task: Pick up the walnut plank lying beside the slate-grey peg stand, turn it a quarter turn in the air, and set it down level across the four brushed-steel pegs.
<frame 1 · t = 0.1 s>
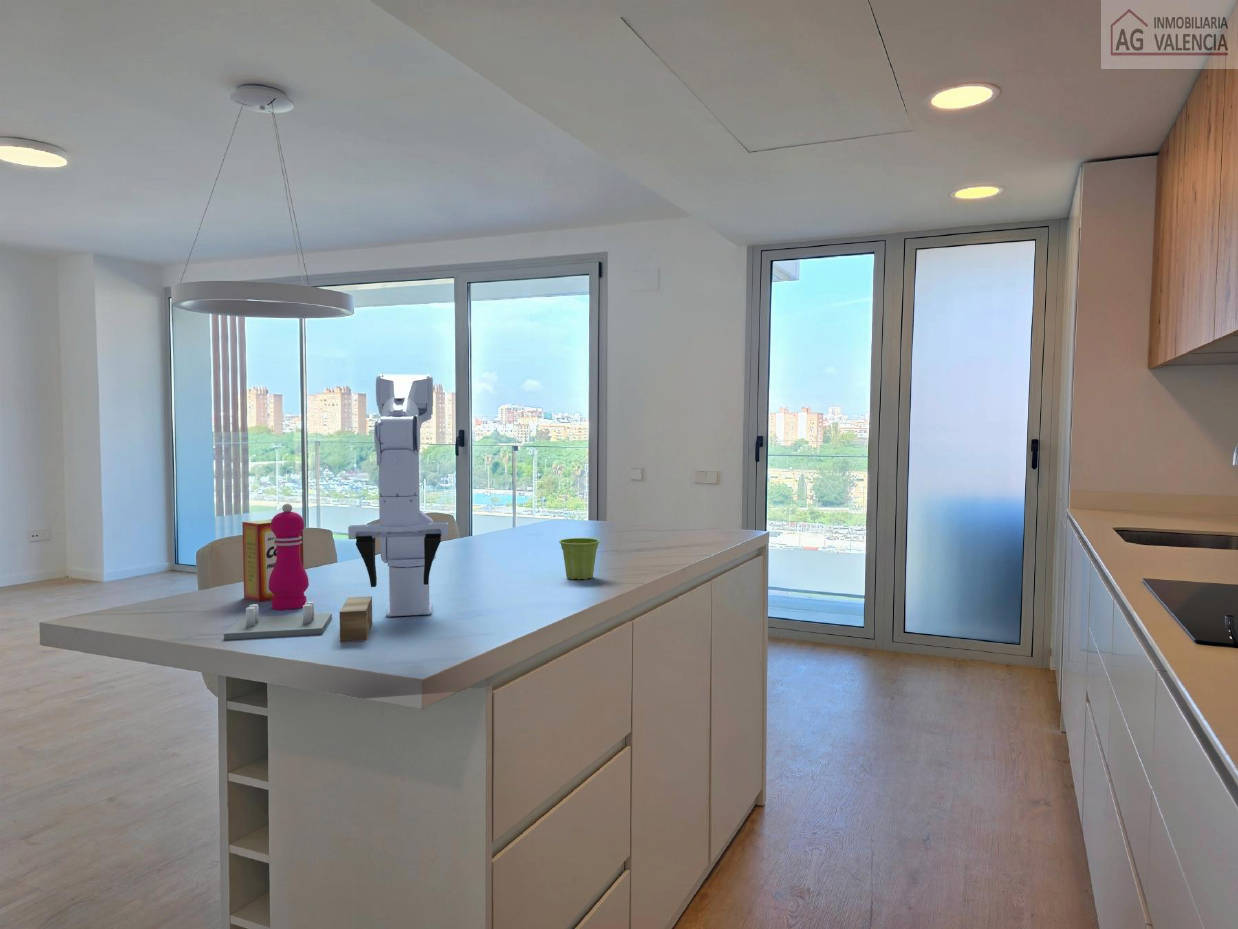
hand: (400, 584, 121), 10 cm above the table, tool pointing down, fingers open, 7 cm apart
food box: (274, 597, 165), on the table
walnut plank: (357, 633, 133), on the table
pepper mill: (289, 607, 154), on the table
peg stand: (280, 628, 136), on the table
plant pot: (579, 578, 184), on the table
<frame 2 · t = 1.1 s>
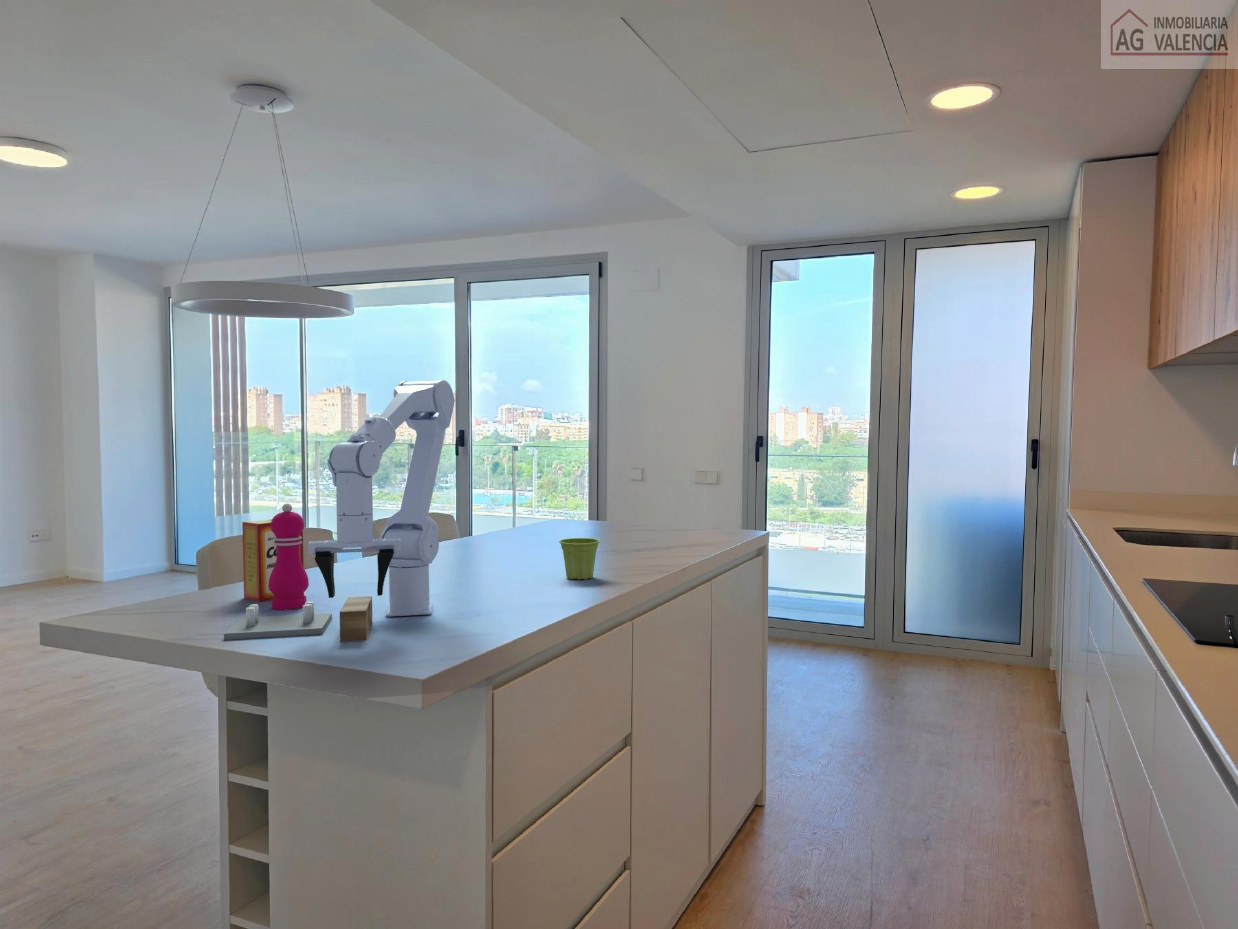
hand: (356, 595, 132), 6 cm above the table, tool pointing down, fingers open, 7 cm apart
nothing on the table moved.
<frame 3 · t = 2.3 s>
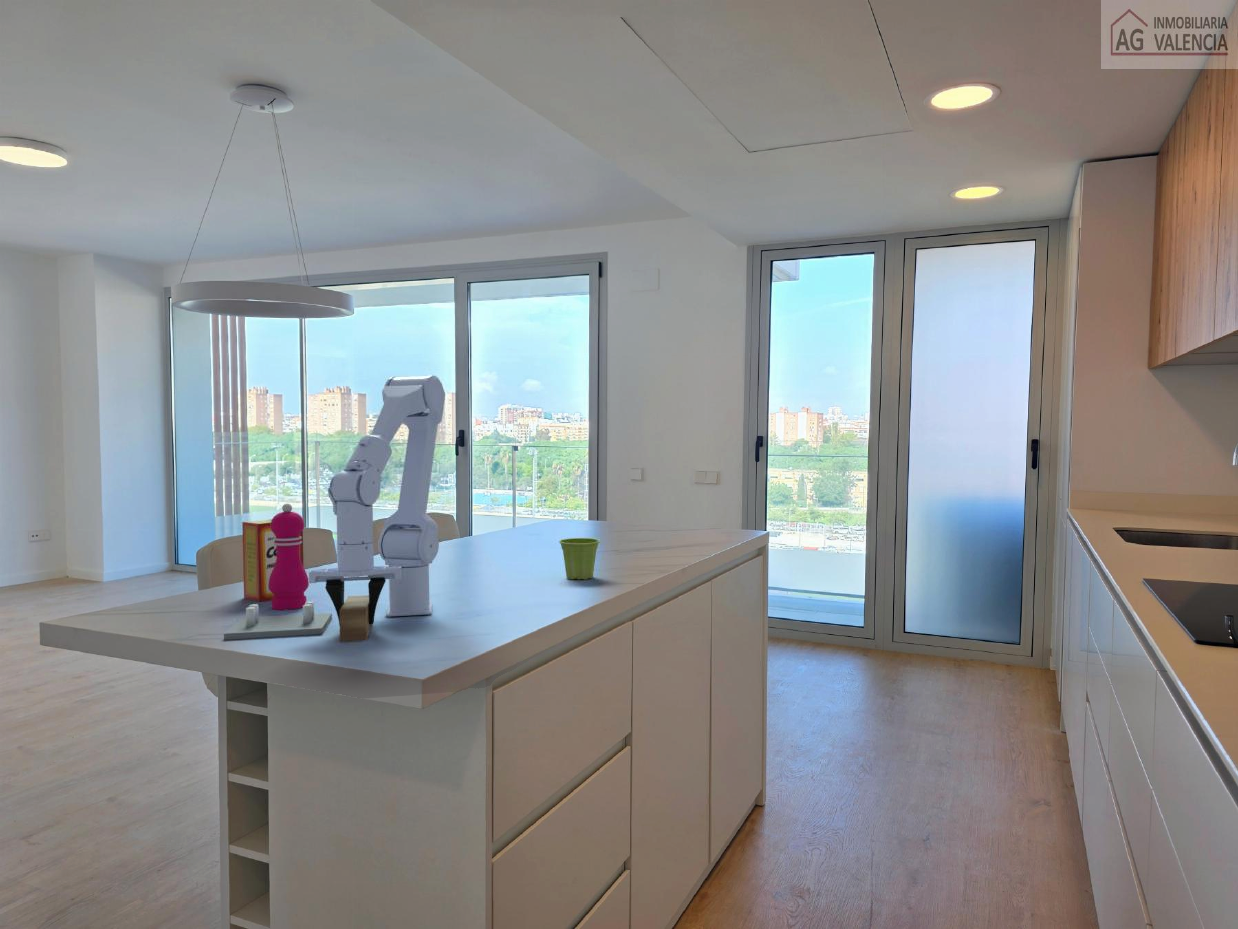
hand: (356, 623, 133), 1 cm above the table, tool pointing down, fingers closed on walnut plank, 4 cm apart
walnut plank: (357, 632, 133), on the table, touching gripper
everything else where it was.
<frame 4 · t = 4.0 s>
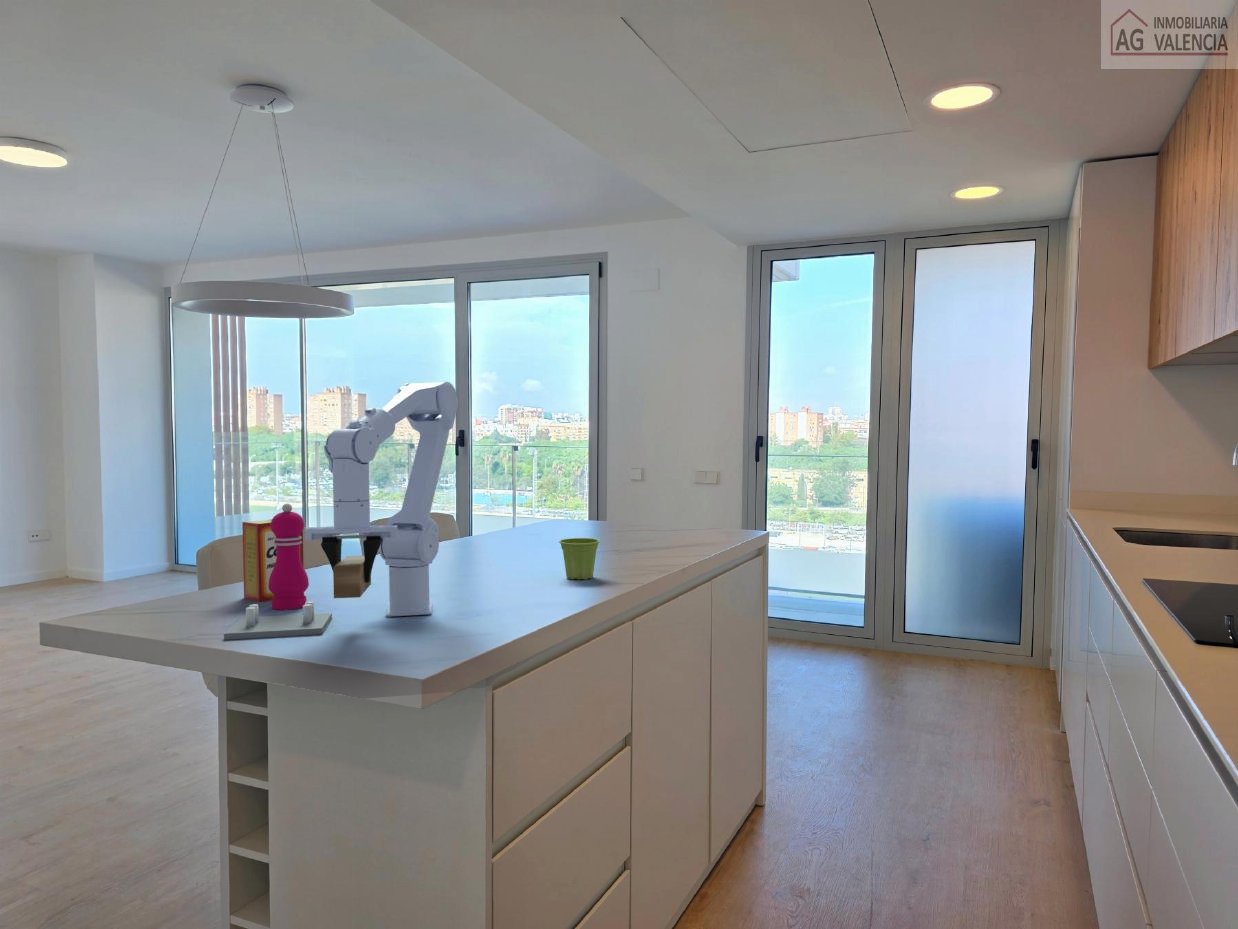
hand: (353, 582, 133), 8 cm above the table, tool pointing down, fingers closed on walnut plank, 4 cm apart
walnut plank: (353, 590, 133), point 7 cm above the table, touching gripper
everything else where it was.
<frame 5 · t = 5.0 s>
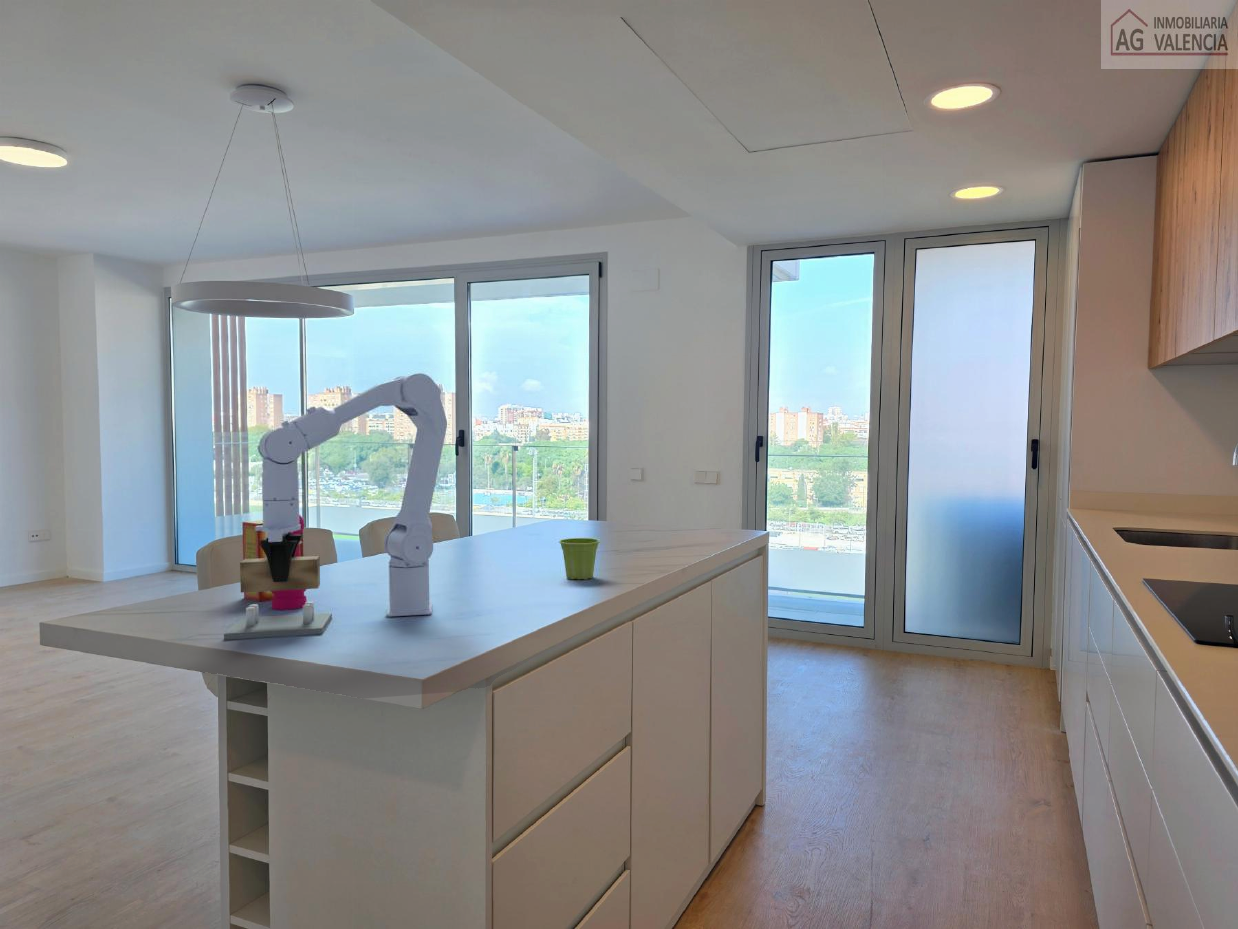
hand: (282, 579, 135), 8 cm above the table, tool pointing down, fingers closed on walnut plank, 4 cm apart
walnut plank: (281, 588, 135), point 7 cm above the table, touching gripper
everything else where it was.
when the fingers open (6 cm above the table, at t = 5.9 s): walnut plank stays where it is, resting on peg stand.
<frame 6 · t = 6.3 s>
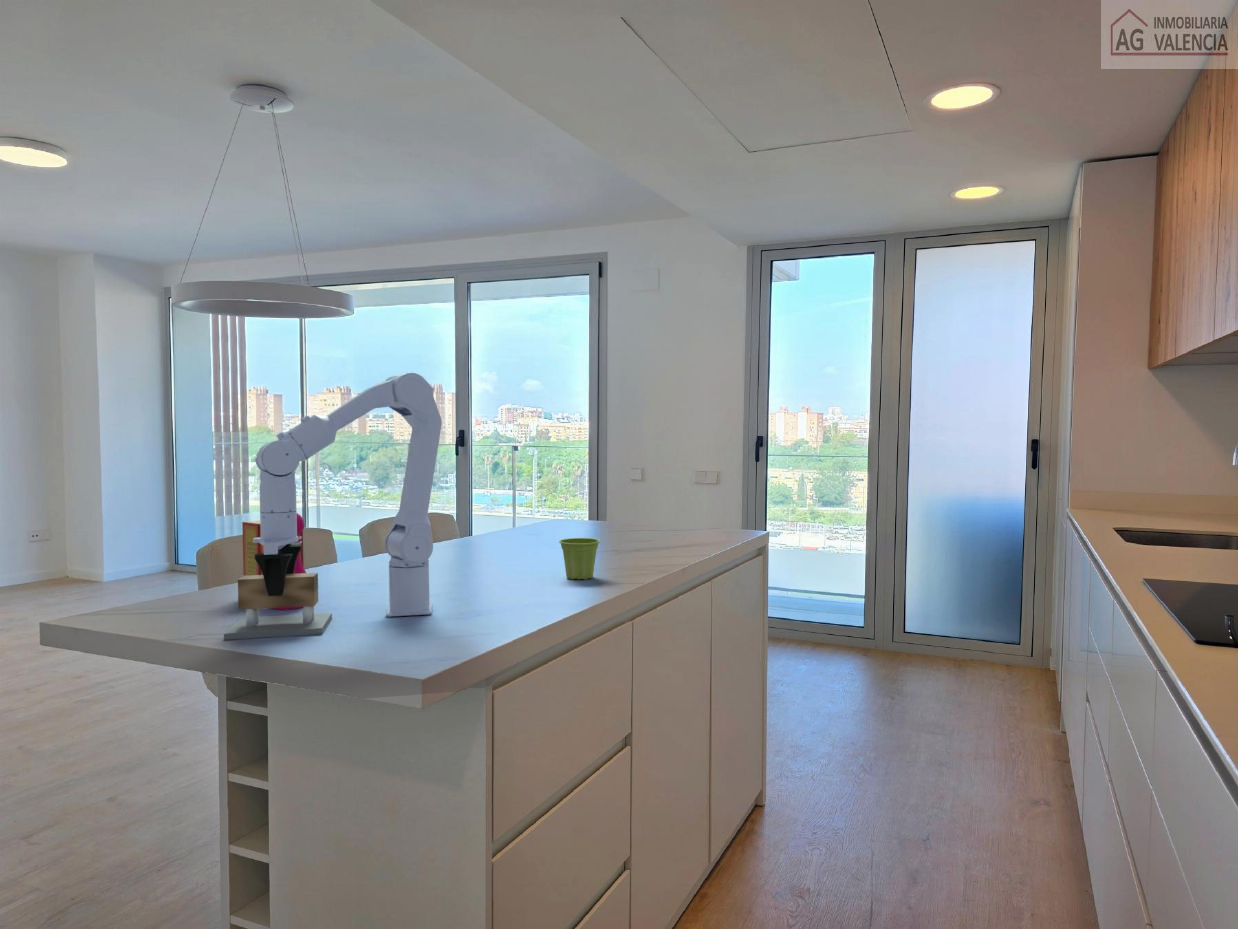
hand: (280, 591, 136), 6 cm above the table, tool pointing down, fingers open, 7 cm apart
walnut plank: (279, 605, 136), point 4 cm above the table, touching peg stand
everything else where it was.
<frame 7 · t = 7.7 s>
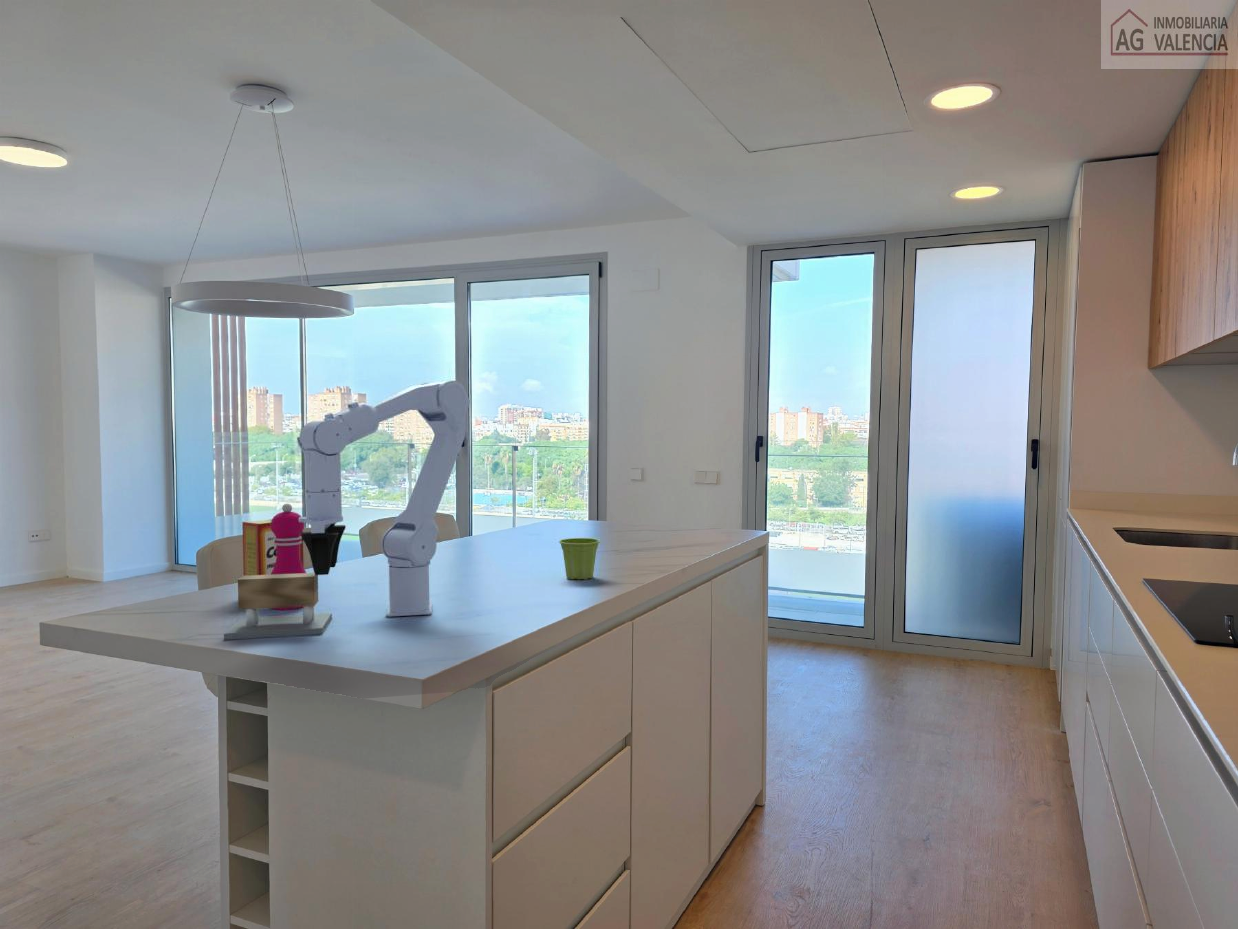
hand: (325, 570, 136), 10 cm above the table, tool pointing down, fingers open, 7 cm apart
nothing on the table moved.
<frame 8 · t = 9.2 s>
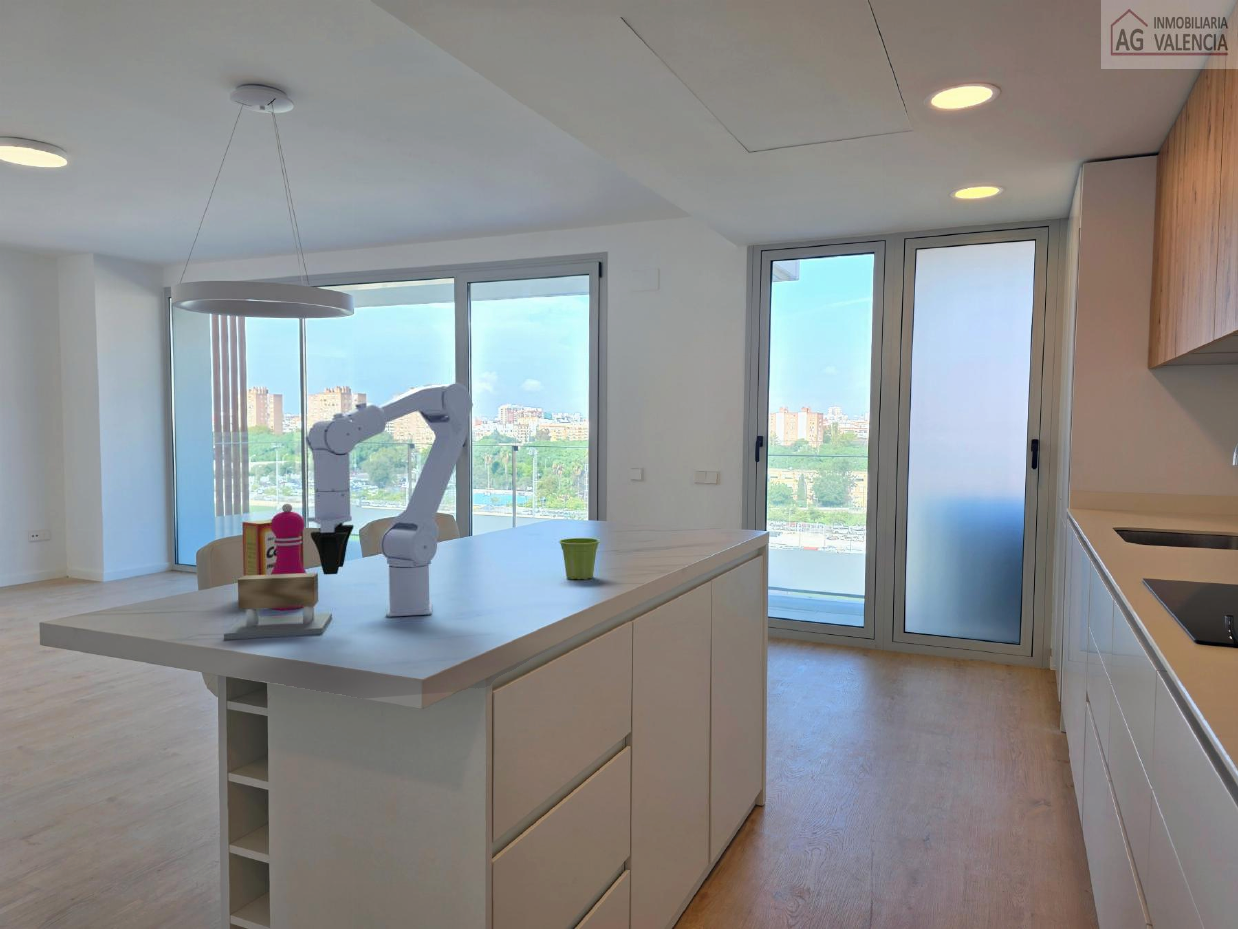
hand: (333, 570, 135), 10 cm above the table, tool pointing down, fingers open, 7 cm apart
nothing on the table moved.
at the end: walnut plank 0.2 cm off-centre on the peg stand, point 4.0 cm above the peg stand's base; walnut plank tilted 0°; the gripper is holding nothing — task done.
